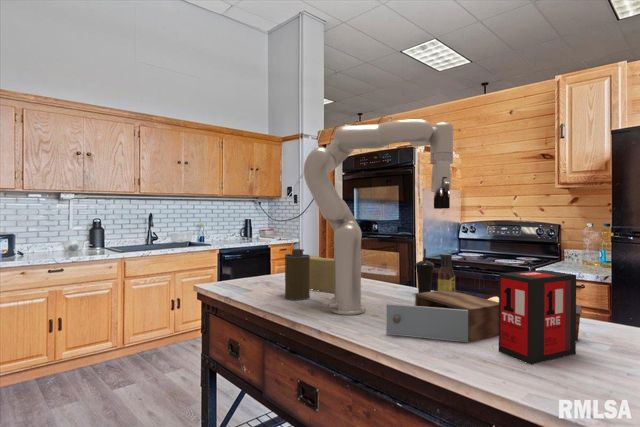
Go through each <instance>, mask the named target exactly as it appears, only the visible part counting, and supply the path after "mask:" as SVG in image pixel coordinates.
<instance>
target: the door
mask: <svg viewBox="0 0 640 427" xmlns="http://www.w3.org/2000/svg"><path fill="white" fill-rule="evenodd" d="M385 321H386V324H385V325H386V334H388V335H399V336H407V337H416V338H427V339H436V340H445V341H446V340H447V341H457V342H465V343H466V342H467V343H468V310H461V309H448V308H436V307H423V306H415V305H410V304H409V305H408V304H407V305H406V304H394V303H386V320H385Z"/></svg>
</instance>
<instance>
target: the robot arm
mask: <svg viewBox="0 0 640 427" xmlns="http://www.w3.org/2000/svg"><path fill="white" fill-rule="evenodd" d="M397 143H409V144H410V145H411V146H412V147H419V148H421V147H426V146H430V147H429V149H430V150H429V151H430V152H429V156H430V158H429V160H430V161H429V162H430V165H432V167H431V184H430V185H431V186H430V188H431V189H430V191H431V192H432V193H434V194H433V209H435V210H436V209H437V210H438V209H439V210H441V209H450V191H451V185H452V184H451V182H452V178H451V177H452V175H451V174H452V173H451V171H452V170H451V164H453V163H454V125H453V124H452V123H450V122H436V123H433V124H431V122H429V121H428V120H426V119H421V118H420V119H419V118H417V119H413V118H412V119H400V120H398V119H397V120H393V121H386V122H381V123H371V124H353V125H352V124H351V125H342V126H338V128H336V130H335V131H334V134H333V140H332V141H331V142H330V144H328V145H327V146H326V147H323V146H321V147H319V146H318V147H315V148H314V149H312V150H311V151H310V152H309V154H308V155H307V157H306V159H305V162H304V164H303V165H304V166H303V177H304V181H305V183H306V185H307V187H308V190H309V192H310V193H311V195H312V198H313V200H314V202H315V204H316V206H317V207H318V210H319V211H320V213H321V215H322V217H323V219H324V220H325V221H327V222H328V223H329V225H330V227H331V229H332V231H333V232H334V233H333V249H334V250H333V254H334V255H333V256H334V258H333V259H334V267H335V271H334V293H333V296H334V297H331V299H330V300H329V301H328V300H327V301H322V302H321V306H322V307H323V308H326V307H327V308H329V311H330V312H332V313H334V314H336V315H337V314H338V315H344V316H345V315H347V316H349V315H351V316H352V315H353V316H354V315H361V314H363V313H365V312H366V306H364V305H362V299H361V298H362V233H363V232H362V229H361V227H360V226H359V224H358V222H357V220H356V218H355V217H354V215H353V213H352V211H351V209H350V208H349V206H348V204H347V203H346V201H345V199H342V198H341V197H340V195H339V193H338V192H337V189H336V188H335V186H334V184H333V182H332V181H331V179H330V177H329V174H330V173H332V172H333V171H335V170H336V169H337V167H339V166H340V165H341V164H342V163H343V162H344V161H345V160H346V159H347V158H348V157H349V156H350V155H351V154H352V153H353V152H354V151H355V150H363V149H364V150H365V149H366V150H367V149H370V150H371V149H372V150H373V149H382V148H385V147H387V146H389V145H393V144H397Z"/></svg>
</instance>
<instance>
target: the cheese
mask: <svg viewBox="0 0 640 427" xmlns="http://www.w3.org/2000/svg"><path fill="white" fill-rule="evenodd" d="M334 271H335V267H334V258H327V257H326V258H325V257H320V256H317V255H316V256H315V255H310V282H309V289H313V290H312V291H315V290H319V291H318V292H322V291H325V292H324V293H328V292H332V293H331V294H334Z"/></svg>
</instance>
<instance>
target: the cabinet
mask: <svg viewBox="0 0 640 427" xmlns="http://www.w3.org/2000/svg"><path fill="white" fill-rule="evenodd" d="M414 298H415V300H414V301H415V304H414V306H423V307H436V308H448V309H461V310H468V342H469V343H473V342H477V341H482V340H486V339H491V338H496V337H499V301H498V302H497V301H496V300H495V301H494V300H491V299H488V298H487V299H486V298H483V297H479V296H473V295H470V294H466V293H462V292H459V291H455V292H454V291H450V290H440V291H438V290H433V291H432V290H431V292H424V293H418V292H417V293H415V297H414ZM468 342H467V343H468Z"/></svg>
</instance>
